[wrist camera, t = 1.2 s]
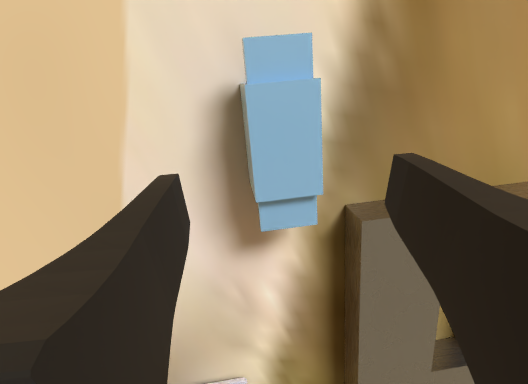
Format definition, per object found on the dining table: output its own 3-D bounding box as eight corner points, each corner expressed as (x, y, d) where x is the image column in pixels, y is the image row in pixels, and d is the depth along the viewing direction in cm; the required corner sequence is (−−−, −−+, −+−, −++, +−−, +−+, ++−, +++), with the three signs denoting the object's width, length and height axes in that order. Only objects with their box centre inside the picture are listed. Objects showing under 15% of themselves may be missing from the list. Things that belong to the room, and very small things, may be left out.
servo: (306, 203, 24) (323, 228, 20) (252, 209, 24) (259, 237, 19) (299, 40, 20) (319, 30, 16) (235, 45, 20) (240, 36, 16)
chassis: (512, 379, 33) (539, 407, 31) (344, 411, 32) (356, 443, 29) (561, 177, 26) (603, 189, 23) (345, 205, 24) (362, 221, 21)
